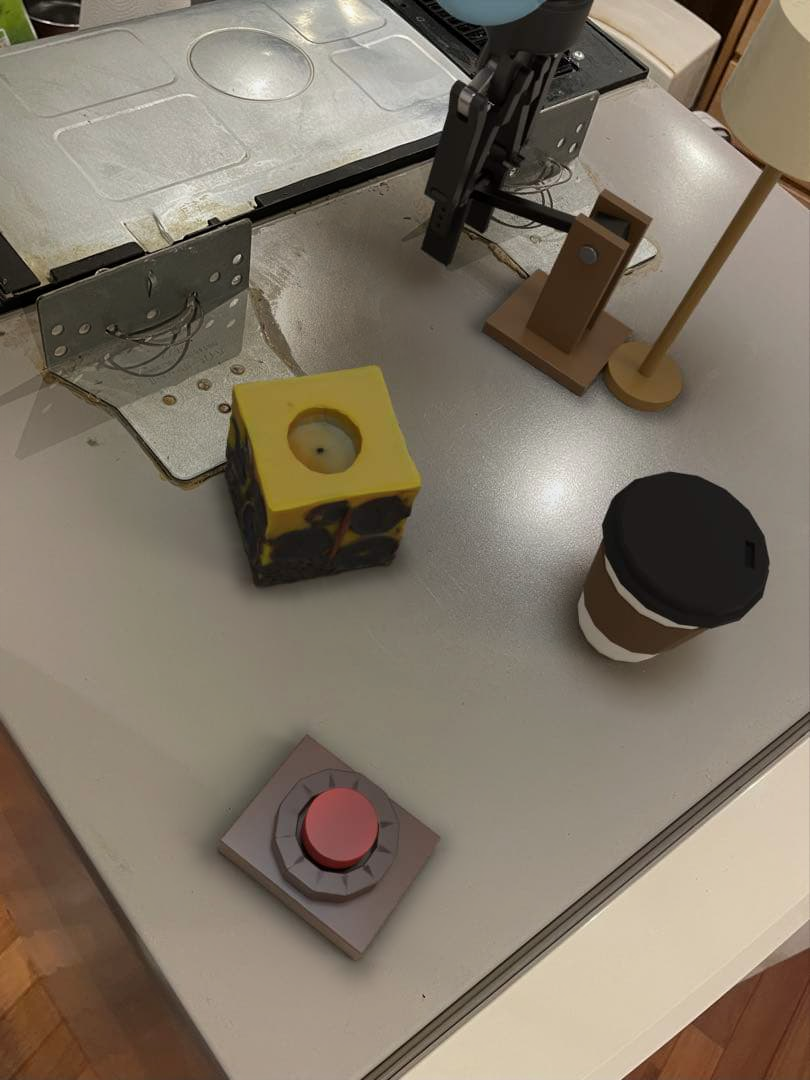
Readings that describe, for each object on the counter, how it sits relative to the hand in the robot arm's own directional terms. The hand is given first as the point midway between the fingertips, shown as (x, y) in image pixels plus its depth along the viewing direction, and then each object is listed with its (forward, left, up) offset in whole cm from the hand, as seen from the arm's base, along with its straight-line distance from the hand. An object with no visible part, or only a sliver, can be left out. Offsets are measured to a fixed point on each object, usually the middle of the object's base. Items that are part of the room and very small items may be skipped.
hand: (454, 239), depth 84 cm
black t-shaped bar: (+6, 0, +6) cm, 9 cm away
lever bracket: (+12, 0, -3) cm, 12 cm away
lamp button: (+22, -47, +1) cm, 51 cm away
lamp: (+20, +1, -3) cm, 20 cm away
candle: (+7, -29, -3) cm, 30 cm away
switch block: (+22, -46, -3) cm, 52 cm away
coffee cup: (+29, -21, -3) cm, 36 cm away
